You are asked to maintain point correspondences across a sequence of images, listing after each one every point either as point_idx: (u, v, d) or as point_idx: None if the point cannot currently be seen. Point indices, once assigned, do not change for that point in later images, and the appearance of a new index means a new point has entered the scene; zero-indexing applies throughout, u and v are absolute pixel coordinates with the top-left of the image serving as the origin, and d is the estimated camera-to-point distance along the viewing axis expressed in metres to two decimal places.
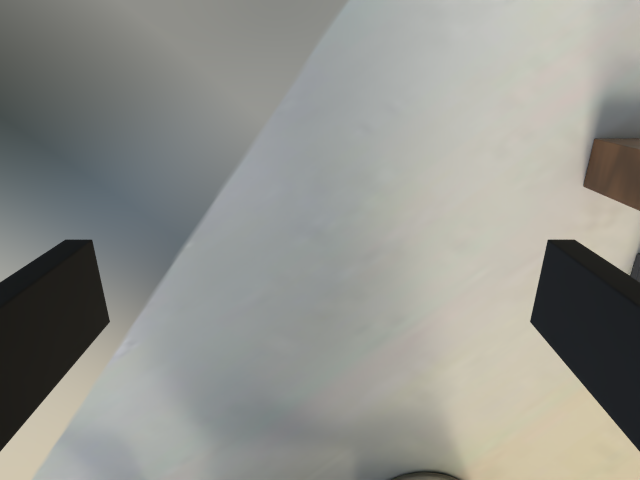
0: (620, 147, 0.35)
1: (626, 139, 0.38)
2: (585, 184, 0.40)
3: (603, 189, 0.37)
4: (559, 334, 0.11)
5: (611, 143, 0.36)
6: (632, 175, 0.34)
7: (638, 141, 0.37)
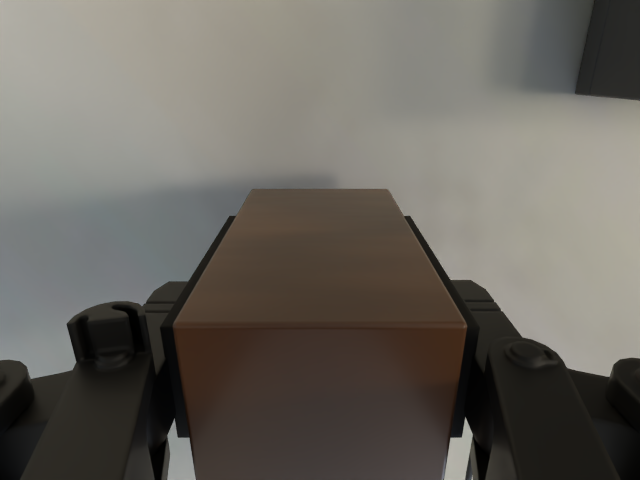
0: None
1: None
2: None
3: None
4: None
5: None
6: None
7: None
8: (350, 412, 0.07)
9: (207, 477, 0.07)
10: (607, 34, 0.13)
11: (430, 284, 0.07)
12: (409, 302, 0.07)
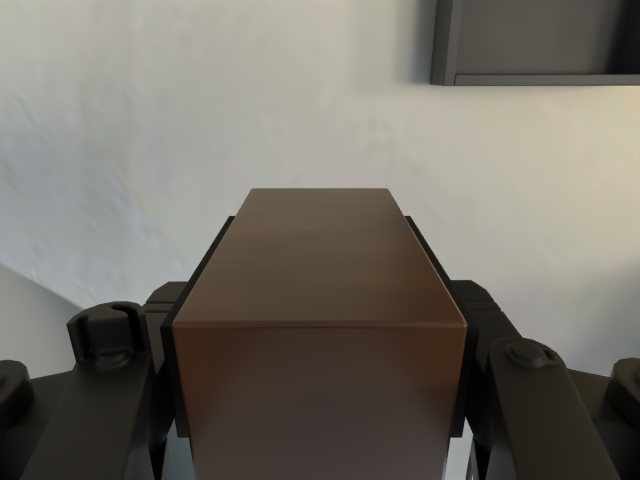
0: None
1: None
2: None
3: None
4: None
5: None
6: None
7: None
8: (350, 412, 0.07)
9: (206, 477, 0.07)
10: (434, 60, 0.34)
11: (430, 283, 0.07)
12: (408, 302, 0.07)
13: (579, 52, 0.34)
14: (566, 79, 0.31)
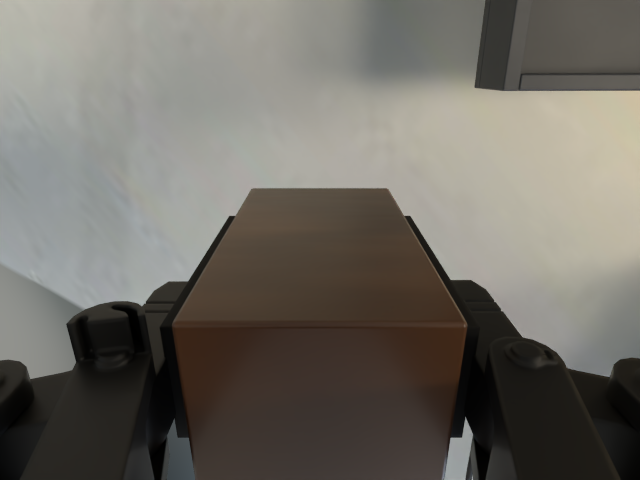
0: None
1: None
2: None
3: None
4: None
5: None
6: None
7: None
8: (350, 412, 0.07)
9: (206, 477, 0.07)
10: (484, 54, 0.24)
11: (430, 283, 0.07)
12: (408, 302, 0.07)
13: None
14: None
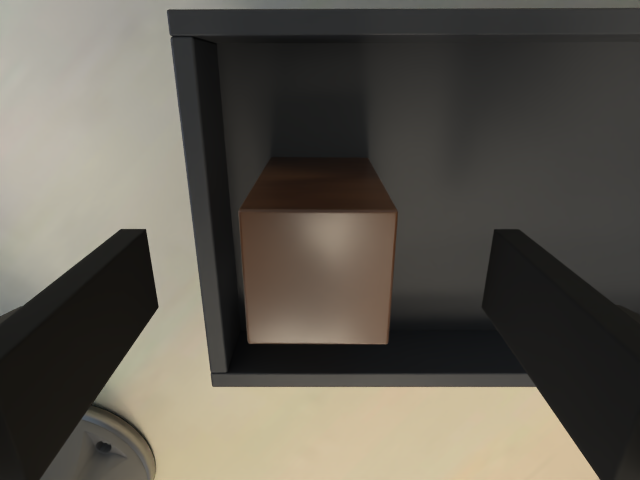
0: None
1: None
2: None
3: None
4: (502, 317, 0.12)
5: None
6: None
7: None
8: (334, 265, 0.12)
9: (252, 308, 0.13)
10: None
11: (382, 197, 0.13)
12: (368, 203, 0.12)
13: None
14: (207, 261, 0.17)
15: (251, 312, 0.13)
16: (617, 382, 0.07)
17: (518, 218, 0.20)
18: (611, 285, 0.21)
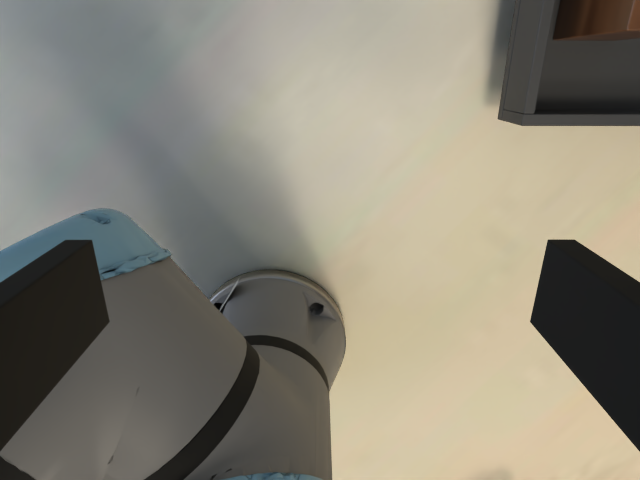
0: (584, 36, 0.27)
1: None
2: (613, 40, 0.30)
3: (635, 37, 0.28)
4: (559, 334, 0.11)
5: (571, 37, 0.28)
6: (638, 33, 0.25)
7: None
8: None
9: (638, 3, 0.22)
10: None
11: None
12: None
13: (542, 64, 0.31)
14: (546, 21, 0.27)
15: (636, 5, 0.23)
16: None
17: None
18: None
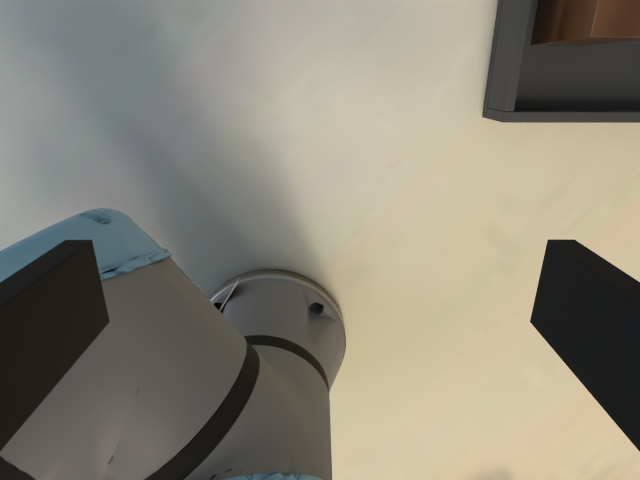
0: (557, 42, 0.30)
1: (540, 8, 0.32)
2: (585, 45, 0.33)
3: (602, 43, 0.31)
4: (559, 334, 0.11)
5: (546, 43, 0.31)
6: (602, 40, 0.28)
7: (549, 2, 0.31)
8: None
9: (599, 13, 0.26)
10: None
11: None
12: None
13: (522, 67, 0.34)
14: (523, 29, 0.30)
15: (598, 15, 0.26)
16: None
17: None
18: None
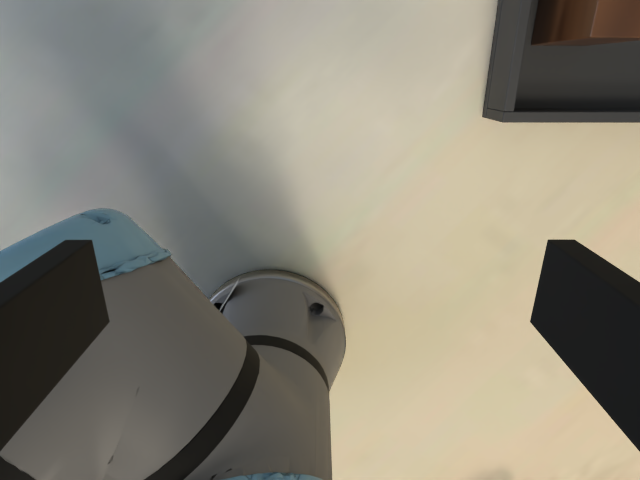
0: (556, 42, 0.30)
1: (540, 8, 0.32)
2: (585, 45, 0.33)
3: (602, 43, 0.31)
4: (559, 334, 0.11)
5: (546, 43, 0.31)
6: (602, 40, 0.28)
7: (549, 2, 0.31)
8: None
9: (599, 13, 0.26)
10: None
11: None
12: None
13: (522, 67, 0.34)
14: (522, 29, 0.30)
15: (598, 16, 0.26)
16: None
17: None
18: None
